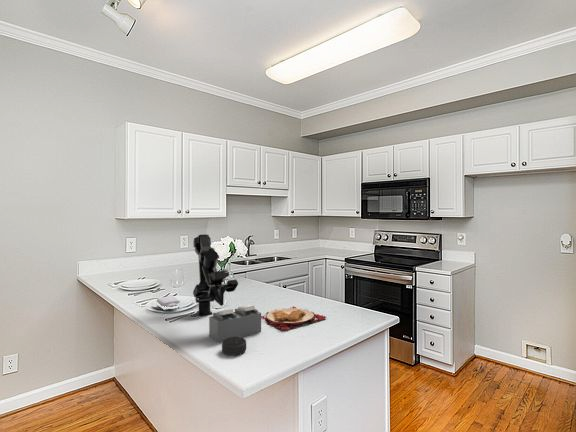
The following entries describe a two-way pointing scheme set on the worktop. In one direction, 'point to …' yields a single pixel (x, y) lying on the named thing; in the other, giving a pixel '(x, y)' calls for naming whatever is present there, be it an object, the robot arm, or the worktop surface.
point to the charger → (168, 301)
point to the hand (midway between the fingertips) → (222, 305)
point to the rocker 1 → (225, 312)
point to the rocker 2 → (246, 308)
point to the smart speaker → (234, 346)
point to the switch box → (234, 324)
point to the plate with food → (290, 317)
